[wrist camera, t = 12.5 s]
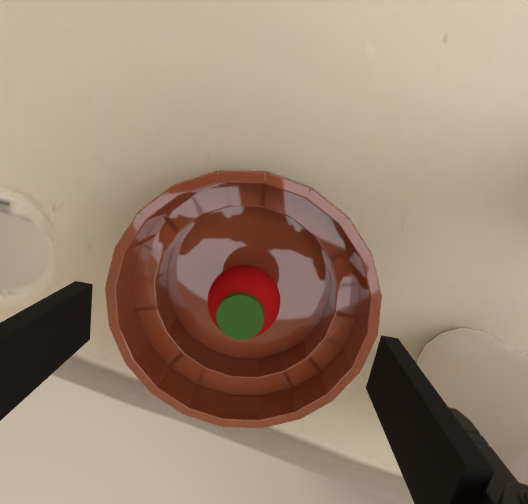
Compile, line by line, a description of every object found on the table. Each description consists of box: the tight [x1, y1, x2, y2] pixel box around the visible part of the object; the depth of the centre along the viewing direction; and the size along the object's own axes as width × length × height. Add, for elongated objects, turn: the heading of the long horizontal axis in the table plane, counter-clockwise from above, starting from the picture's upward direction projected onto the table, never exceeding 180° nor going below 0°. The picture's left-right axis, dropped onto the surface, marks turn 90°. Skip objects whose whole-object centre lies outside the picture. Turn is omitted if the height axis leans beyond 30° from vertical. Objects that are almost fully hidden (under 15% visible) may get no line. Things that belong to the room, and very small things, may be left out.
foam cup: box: [416, 328, 528, 485], centre depth 18 cm, size 10×9×13 cm
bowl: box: [105, 170, 382, 428], centre depth 20 cm, size 15×15×5 cm
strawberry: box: [207, 265, 280, 340], centre depth 20 cm, size 4×4×5 cm
